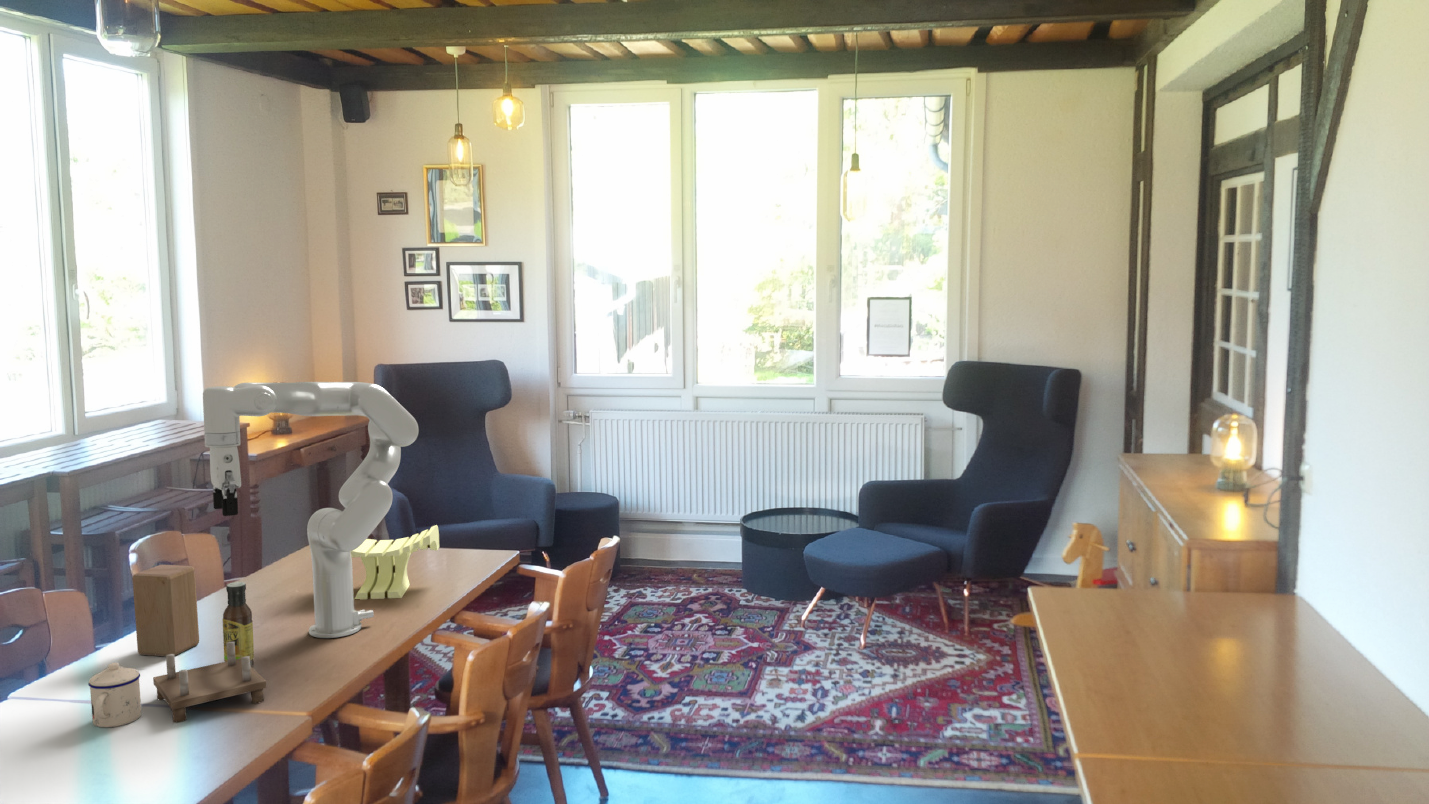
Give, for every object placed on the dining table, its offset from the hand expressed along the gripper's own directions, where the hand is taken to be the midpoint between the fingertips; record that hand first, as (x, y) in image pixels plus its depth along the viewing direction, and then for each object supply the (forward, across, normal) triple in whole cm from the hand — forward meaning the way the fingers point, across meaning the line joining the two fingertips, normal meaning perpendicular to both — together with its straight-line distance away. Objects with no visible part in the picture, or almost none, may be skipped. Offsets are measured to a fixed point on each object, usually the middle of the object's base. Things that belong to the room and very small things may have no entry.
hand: (225, 511), depth 243 cm
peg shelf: (+35, -26, +10) cm, 45 cm away
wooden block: (+35, +14, +11) cm, 40 cm away
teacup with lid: (+36, -26, +28) cm, 52 cm away
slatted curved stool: (+34, +32, -47) cm, 66 cm away
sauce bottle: (+35, -9, 0) cm, 36 cm away
